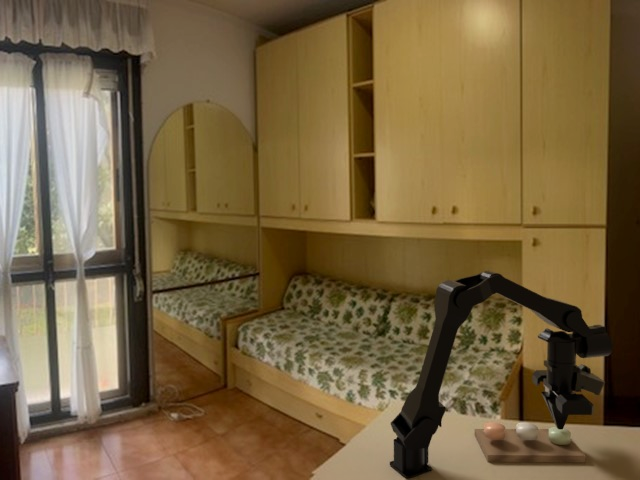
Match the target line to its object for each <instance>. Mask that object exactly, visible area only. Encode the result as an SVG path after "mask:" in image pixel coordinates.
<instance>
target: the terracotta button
mask: <svg viewBox="0 0 640 480" xmlns="http://www.w3.org/2000/svg"><path fill="white" fill-rule="evenodd" d="M483 429H484V435H485V437H487V438H489V439H492V440H502V439H504V438H505V429H506V426H505V425H504V424H502V423H499V422H494V421H493V422H492V421H489V422H486V423H484V426H483Z"/></svg>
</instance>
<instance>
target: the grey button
mask: <svg viewBox="0 0 640 480" xmlns="http://www.w3.org/2000/svg"><path fill="white" fill-rule="evenodd" d="M515 425H516V428H515V429H516V435H517V436H518V437H519V438H521V439H524V440H535V439H537V438H538V429H539V427H538V426H537V425H536V424H534V423H531V422H519V423H517V424H515Z"/></svg>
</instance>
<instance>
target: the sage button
mask: <svg viewBox="0 0 640 480" xmlns="http://www.w3.org/2000/svg"><path fill="white" fill-rule="evenodd" d="M548 429H549V440H550V441H551V442H553V443H555V444H559V445H567V444H570V441H571V440H572V438H571V435H572V433H571V431H570V430H569V429H567V428H565V427H564V428H563V429H558V428H557V427H556V426H551V427H549V428H548Z"/></svg>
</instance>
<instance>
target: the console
mask: <svg viewBox="0 0 640 480" xmlns="http://www.w3.org/2000/svg"><path fill="white" fill-rule="evenodd" d="M473 434H474V437H475V439H476V441H477V443H478V445H479V448H480V449H481V452H482V454H483V455H484V457H485V459H486V462H487V463H586V455H585V453H584V452H583V451H582V450H581V448H579V446H578V445H577V444H576V443H575V442H574V441H573V440H572V439H571V441H570V444H567V445H559V444H555V443H553V442H551V441H550V440H549V428H538V438H537V439H535V440H524V439H521V438H519V437H518V436H517V435H516V428H505V438H504V439H502V440H492V439H489V438H487V437H485V435H484V428H474V433H473Z"/></svg>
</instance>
